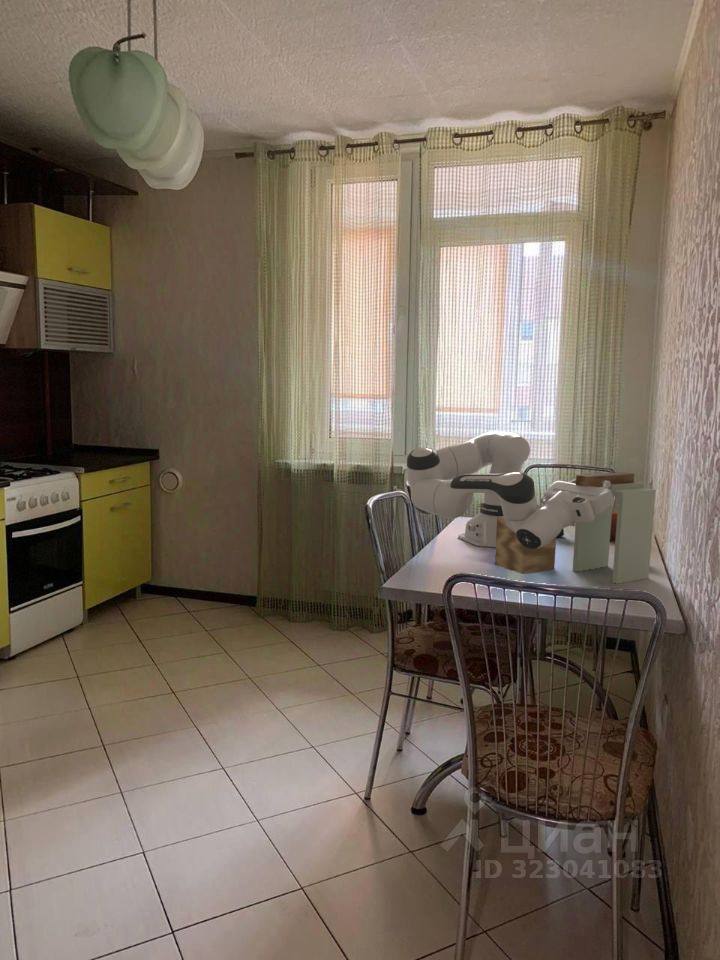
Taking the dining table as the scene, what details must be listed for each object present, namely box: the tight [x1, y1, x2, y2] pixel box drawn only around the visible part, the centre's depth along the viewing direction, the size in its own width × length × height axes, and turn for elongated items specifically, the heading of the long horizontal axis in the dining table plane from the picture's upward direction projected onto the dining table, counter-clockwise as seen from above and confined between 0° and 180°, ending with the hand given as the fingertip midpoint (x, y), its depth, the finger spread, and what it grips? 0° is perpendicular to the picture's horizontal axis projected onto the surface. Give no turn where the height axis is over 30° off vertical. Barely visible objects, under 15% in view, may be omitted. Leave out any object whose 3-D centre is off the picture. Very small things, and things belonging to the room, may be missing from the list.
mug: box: [610, 509, 618, 541], centre depth 262 cm, size 12×9×10 cm
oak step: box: [494, 516, 557, 575], centre depth 218 cm, size 12×13×15 cm
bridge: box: [572, 482, 657, 585], centre depth 211 cm, size 16×14×28 cm
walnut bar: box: [575, 471, 635, 489], centre depth 207 cm, size 4×20×4 cm, turn 122°
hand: (595, 480), depth 205 cm, fingers open, 8 cm apart
